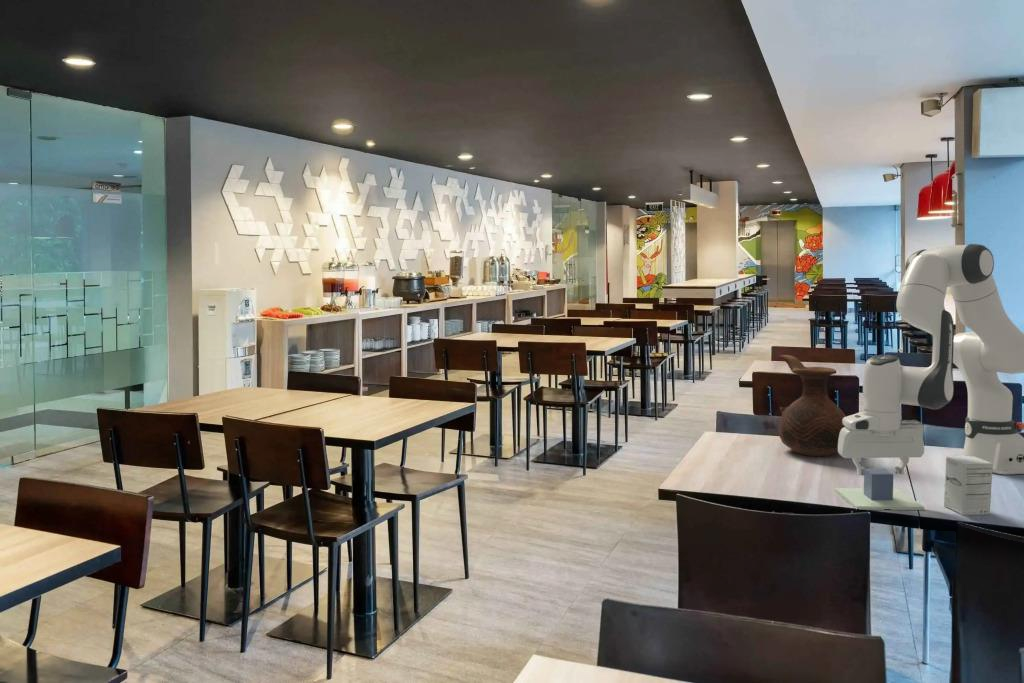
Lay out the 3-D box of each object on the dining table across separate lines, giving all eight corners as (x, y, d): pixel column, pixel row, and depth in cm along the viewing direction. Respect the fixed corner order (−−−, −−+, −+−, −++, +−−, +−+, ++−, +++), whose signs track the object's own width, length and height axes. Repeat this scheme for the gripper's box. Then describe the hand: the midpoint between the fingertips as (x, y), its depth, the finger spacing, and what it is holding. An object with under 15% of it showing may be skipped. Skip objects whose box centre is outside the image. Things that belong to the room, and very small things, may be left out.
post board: (896, 491, 213) (897, 469, 213) (924, 510, 197) (925, 486, 197) (834, 490, 214) (835, 469, 214) (856, 509, 198) (857, 486, 198)
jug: (835, 443, 268) (838, 353, 265) (862, 459, 246) (865, 361, 243) (769, 444, 268) (770, 354, 265) (789, 460, 247) (792, 362, 244)
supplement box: (942, 506, 200) (944, 456, 199) (971, 505, 201) (973, 455, 199) (961, 515, 193) (964, 463, 192) (991, 514, 193) (993, 462, 192)
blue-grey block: (884, 494, 208) (885, 468, 207) (892, 500, 203) (893, 474, 202) (863, 494, 208) (864, 468, 208) (871, 500, 203) (872, 474, 203)
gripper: (918, 417, 206) (916, 470, 208) (836, 418, 207) (835, 471, 209) (929, 422, 200) (928, 477, 201) (844, 423, 201) (843, 478, 203)
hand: (880, 474), depth 205 cm, fingers open, 8 cm apart
